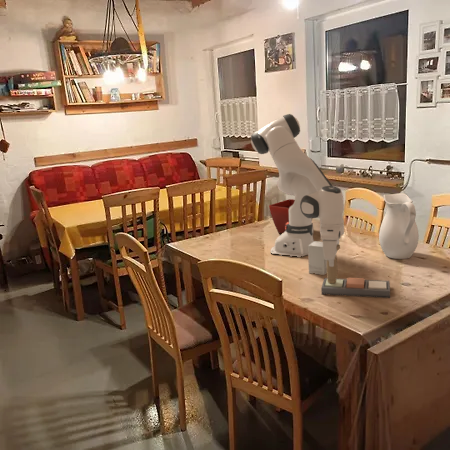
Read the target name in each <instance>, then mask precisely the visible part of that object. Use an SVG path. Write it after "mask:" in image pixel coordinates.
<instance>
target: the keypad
mask: <svg viewBox="0 0 450 450" xmlns="http://www.w3.org/2000/svg"><path fill="white" fill-rule="evenodd" d="M327 279H328V278H327V277H325V278H324V279H323V280H322V281H323V282H322V285H321V288H320V289H321V291H320V292H321V295H325V294H330V296H344V295H346V297H347V296H348V297H367V298H381V299H382V298H386V299H387V298H388V299H390V297H391V287H390V286H391V285H390V283H391V282H390V280H378V279H364V288H346V283H347V278H338V279H339V280H343V287H325V284H326V280H327ZM369 281H383V282H386V288H387V289H368V286H369Z"/></svg>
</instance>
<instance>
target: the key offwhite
mask: <svg viewBox="0 0 450 450" xmlns="http://www.w3.org/2000/svg"><path fill="white" fill-rule="evenodd" d="M383 281H384V280H382V281H369V286H368V289H387V288H386V282H383Z"/></svg>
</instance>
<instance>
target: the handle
mask: <svg viewBox="0 0 450 450" xmlns="http://www.w3.org/2000/svg"><path fill="white" fill-rule="evenodd" d="M340 249H341V245H340V243H339V244H337V251H338V250H339V251H340ZM326 276H327V277H326V278H328V279H327V280H328V283H330V284H331V283H333V284H334V283H335V282H336V279H338V262H337V255H336V256H335V260H334V266H333V267H330V266H329V260H327V273H326Z"/></svg>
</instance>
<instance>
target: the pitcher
mask: <svg viewBox="0 0 450 450" xmlns="http://www.w3.org/2000/svg"><path fill="white" fill-rule="evenodd" d="M383 199H384V202H385V204H386V212H385V215H384V216H383V220H382V221H381V225H380V228H379V233H378V234H379V235H378V239H379V246H380V248H381V250H382V252H383V253H384V255H385V256H386V257H387V258H389V259H395V260H405V259H409V258H411V257H412V256H413V255H414V253H415V251H416V249H417V247H418V244H419V236H420V235H419V229H418V226H417V222H416V218H417V217H416V214H417V212H416V211H417V210H416V207H415V205H414V203H413V202H414V201H413V200H412V199H411V198H410V196H408V195H407V194H406V193H404V192H401V193H400V192H399V193H392V194H383Z"/></svg>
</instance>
